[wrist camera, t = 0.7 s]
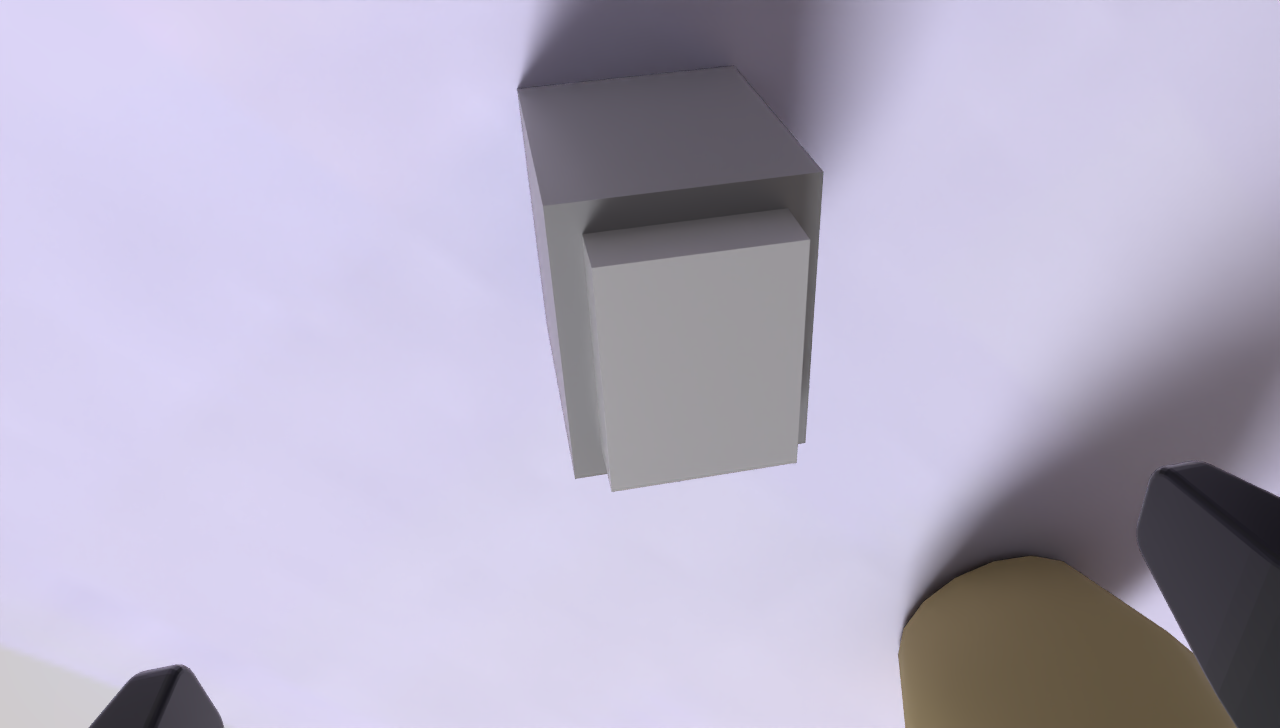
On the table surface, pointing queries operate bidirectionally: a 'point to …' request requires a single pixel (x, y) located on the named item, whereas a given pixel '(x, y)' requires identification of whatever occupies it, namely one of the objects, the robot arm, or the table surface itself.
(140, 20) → the table surface
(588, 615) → the table surface
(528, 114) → the plug
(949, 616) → the squeeze bottle
